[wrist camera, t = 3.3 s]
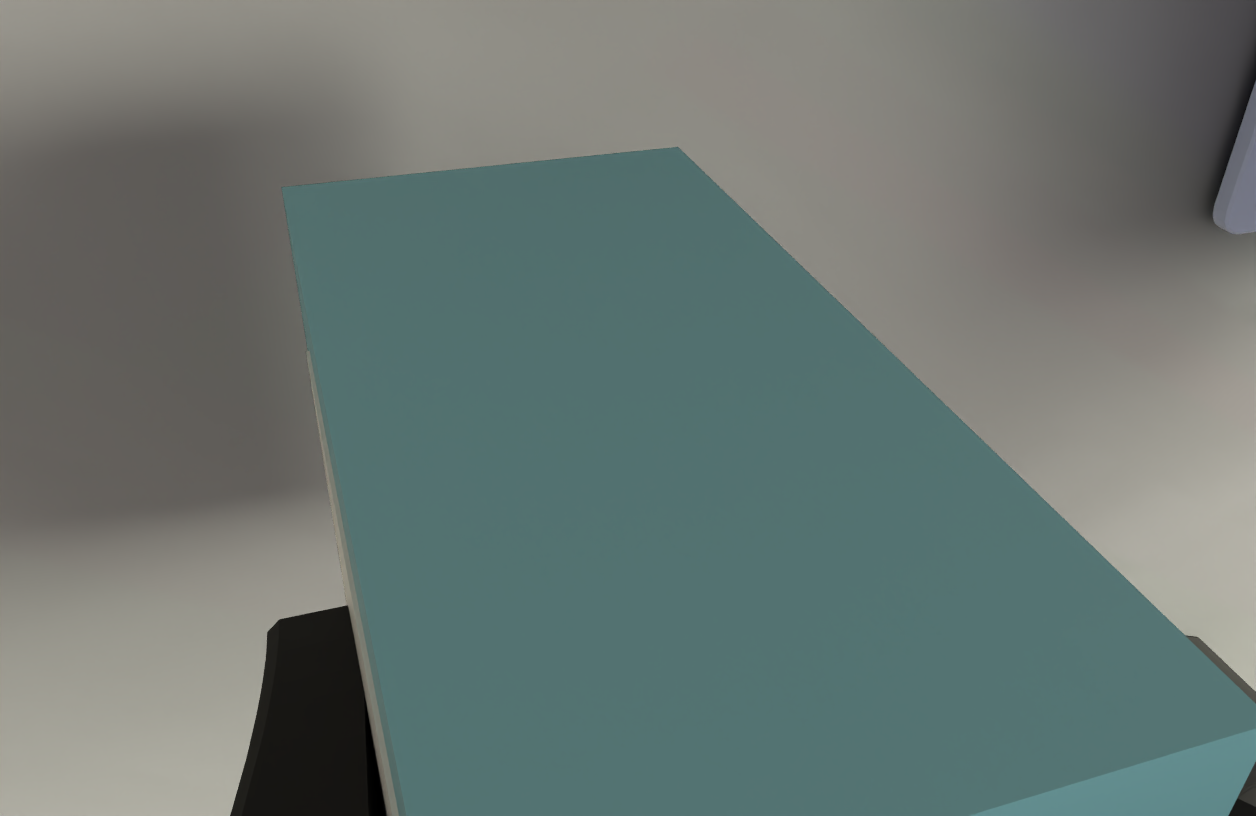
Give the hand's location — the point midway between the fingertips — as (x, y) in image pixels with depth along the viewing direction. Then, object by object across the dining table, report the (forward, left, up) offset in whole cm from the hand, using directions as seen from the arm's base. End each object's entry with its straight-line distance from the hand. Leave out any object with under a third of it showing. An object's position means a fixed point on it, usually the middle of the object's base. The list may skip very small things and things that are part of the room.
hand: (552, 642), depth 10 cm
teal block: (0, 0, -2) cm, 2 cm away
